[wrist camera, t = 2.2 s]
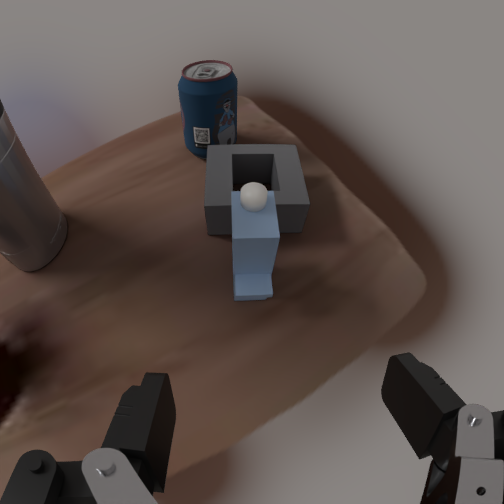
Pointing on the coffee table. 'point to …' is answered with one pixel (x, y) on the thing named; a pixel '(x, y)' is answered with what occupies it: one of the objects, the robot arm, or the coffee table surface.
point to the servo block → (253, 241)
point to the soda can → (208, 105)
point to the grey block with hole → (260, 171)
